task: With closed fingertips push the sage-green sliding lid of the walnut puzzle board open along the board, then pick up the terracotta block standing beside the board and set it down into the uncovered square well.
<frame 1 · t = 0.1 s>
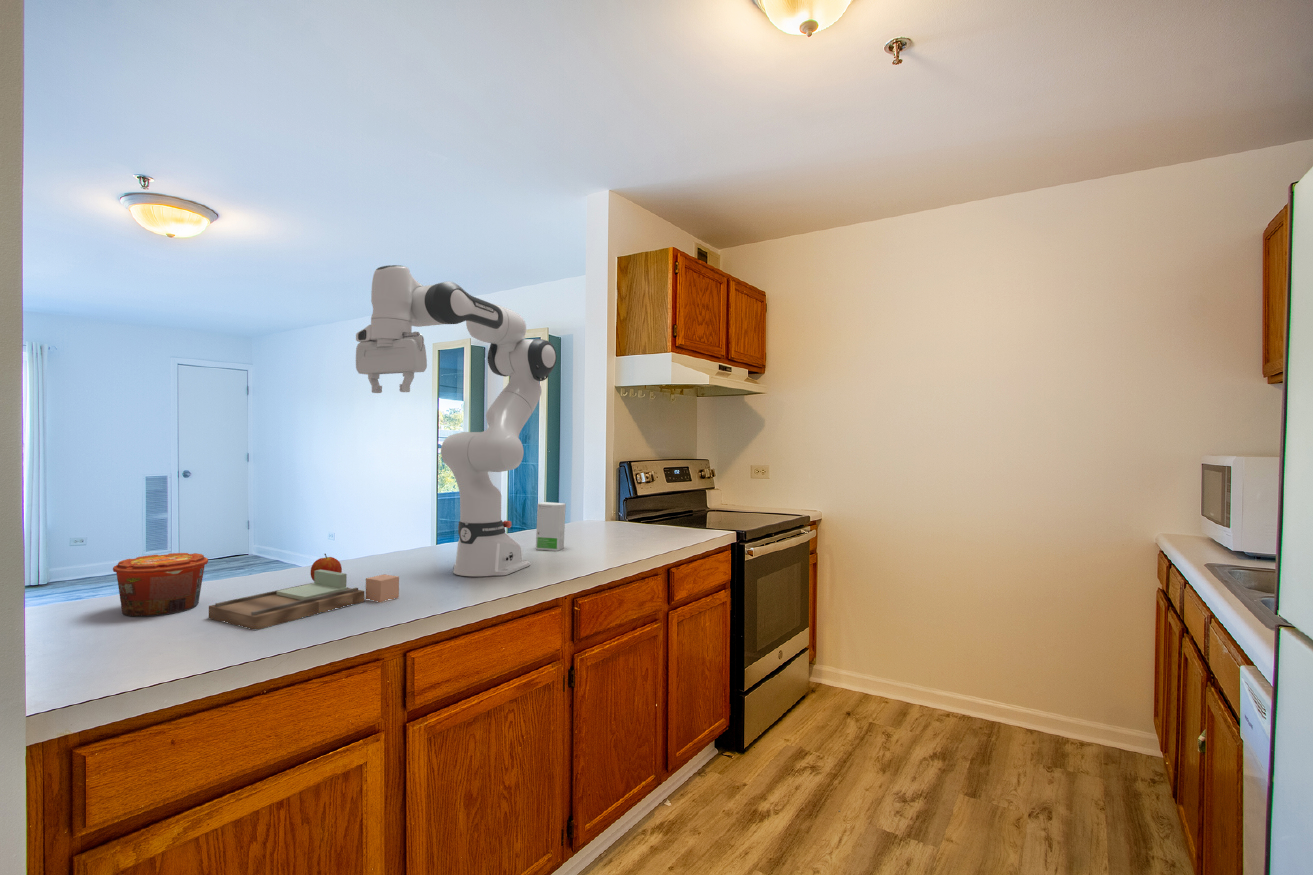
hand: (390, 392, 147), 48 cm above the countertop, fingers open, 8 cm apart
terracotta block: (382, 599, 144), on the countertop
fruit: (326, 585, 156), on the countertop
puzzle board: (290, 609, 134), on the countertop
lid: (312, 584, 139), point 4 cm above the countertop, slide at 0.0 cm
skincare box: (550, 549, 211), on the countertop
food container: (161, 609, 133), on the countertop
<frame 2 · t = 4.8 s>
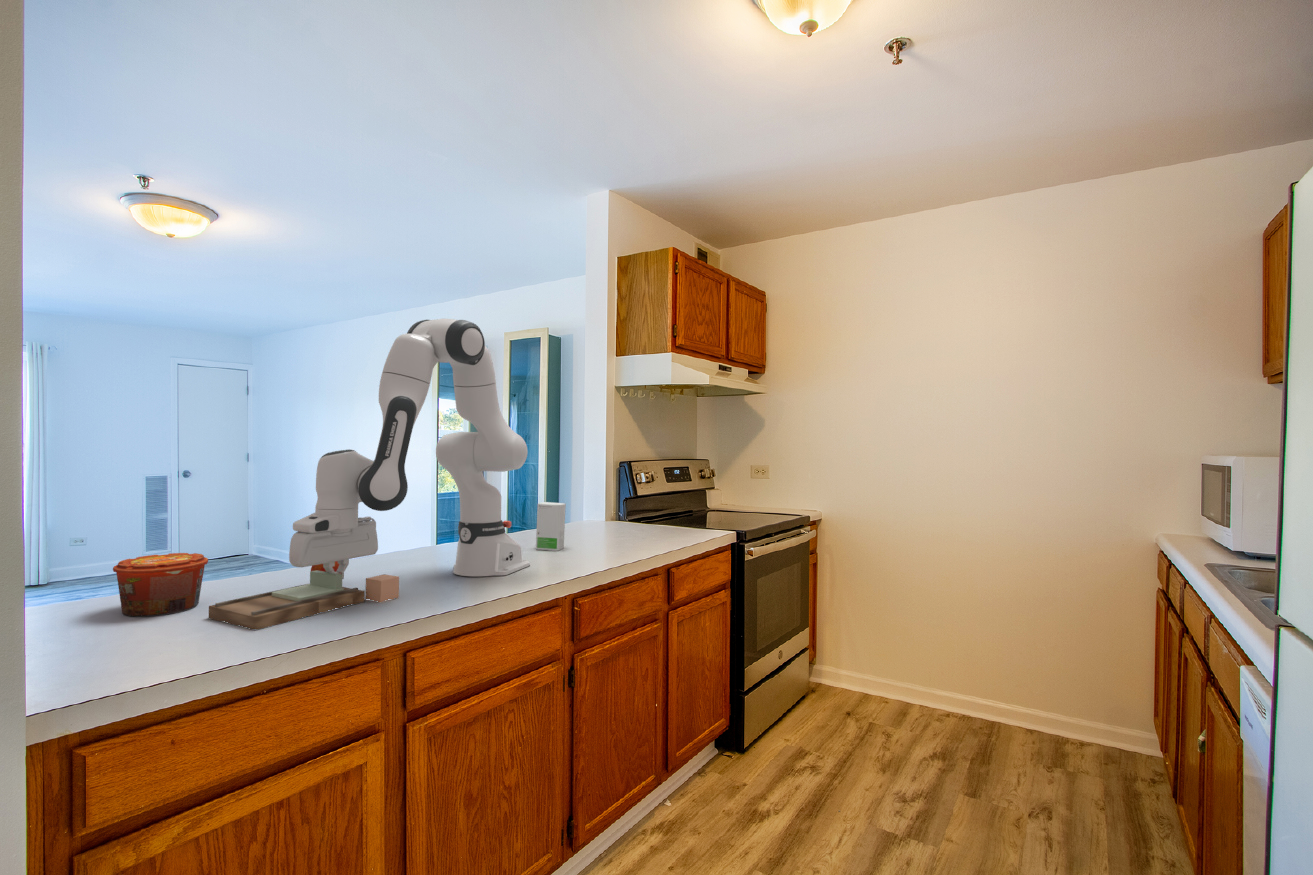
hand: (335, 580, 143), 4 cm above the countertop, fingers closed
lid: (308, 585, 138), point 4 cm above the countertop, slide at 1.1 cm, touching gripper
everything else where it was.
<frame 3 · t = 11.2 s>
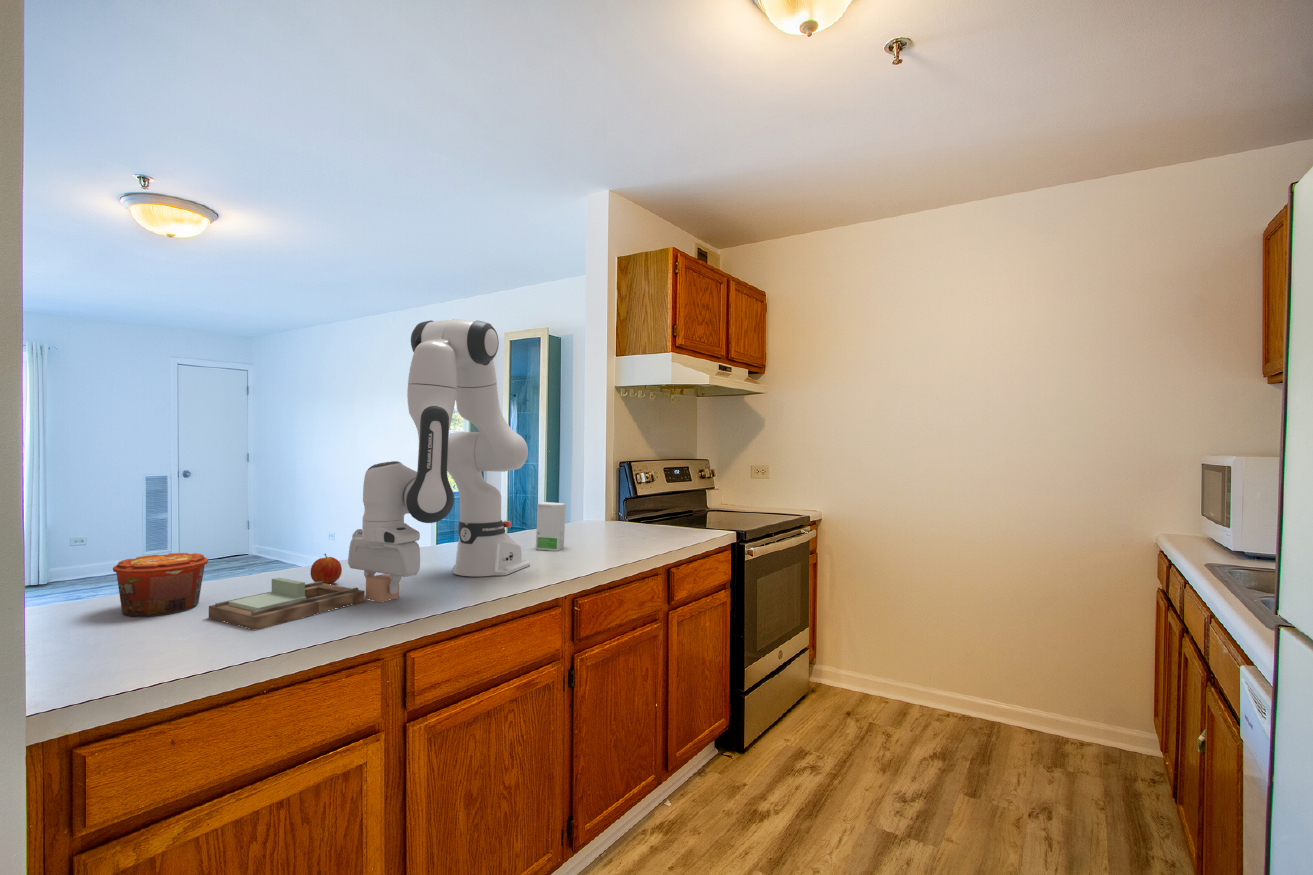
hand: (382, 591, 144), 2 cm above the countertop, fingers closed on terracotta block, 5 cm apart
terracotta block: (382, 598, 144), on the countertop, touching gripper
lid: (268, 593, 130), point 4 cm above the countertop, slide at 9.8 cm
everything else where it was.
when the fingers open (4 cm above the countertop, at t = 16.2 s): terracotta block drops 1 cm, resting on puzzle board.
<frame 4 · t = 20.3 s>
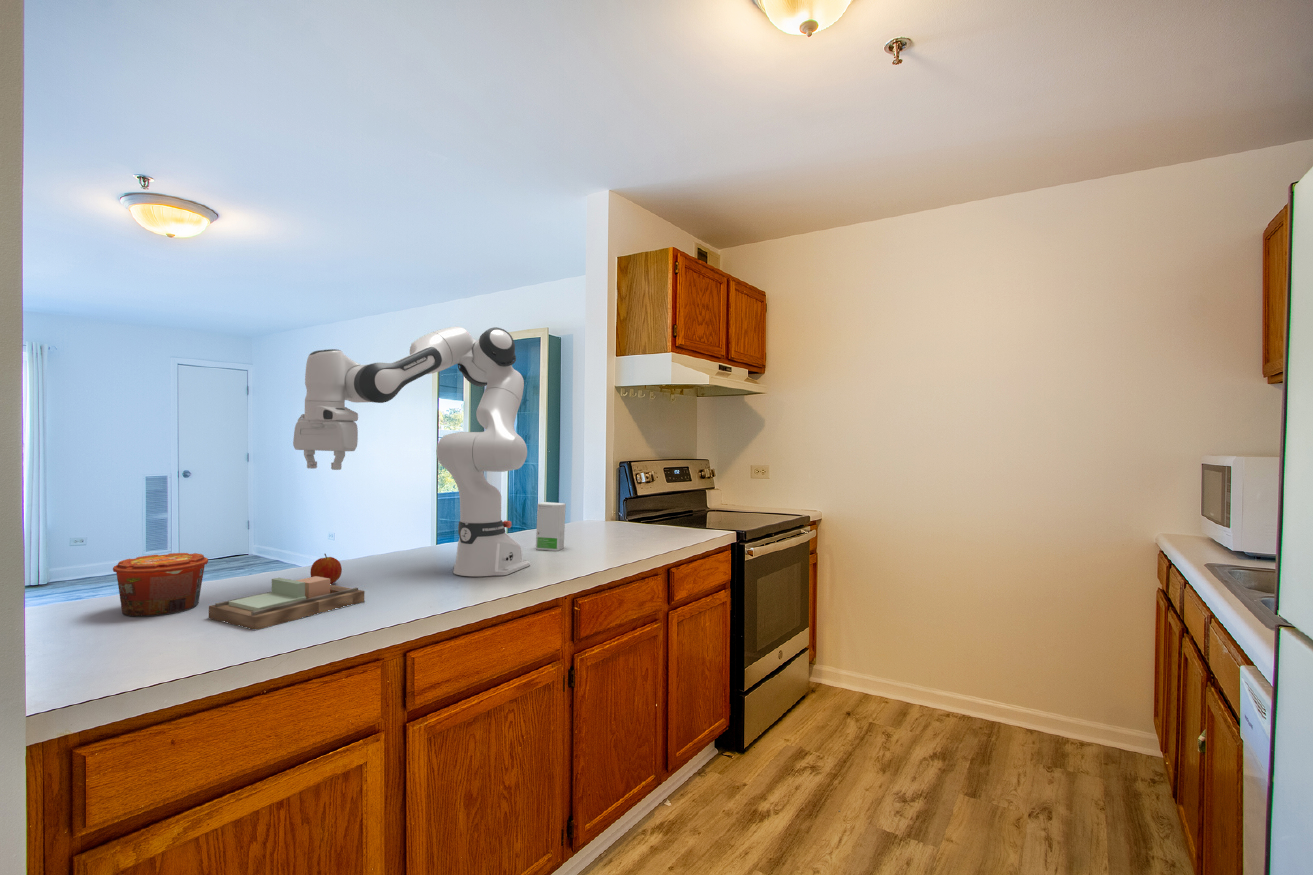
hand: (323, 469, 156), 29 cm above the countertop, fingers open, 8 cm apart
terracotta block: (312, 602, 138), resting on puzzle board
everything else where it was.
at the end: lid slide at 9.8 cm; terracotta block 0.1 cm from the target spot on the puzzle board, point 0.5 cm above the puzzle board's base; the gripper is holding nothing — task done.
